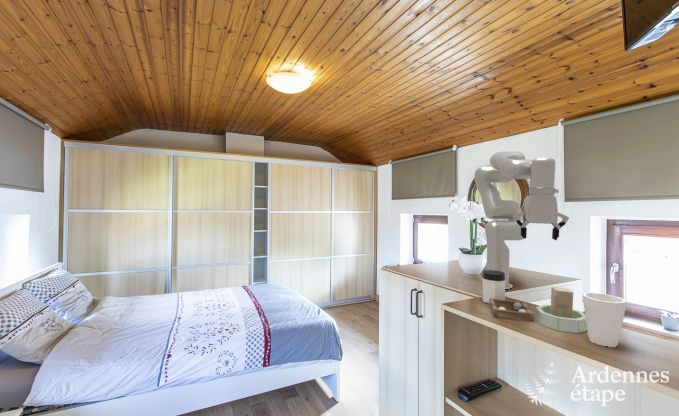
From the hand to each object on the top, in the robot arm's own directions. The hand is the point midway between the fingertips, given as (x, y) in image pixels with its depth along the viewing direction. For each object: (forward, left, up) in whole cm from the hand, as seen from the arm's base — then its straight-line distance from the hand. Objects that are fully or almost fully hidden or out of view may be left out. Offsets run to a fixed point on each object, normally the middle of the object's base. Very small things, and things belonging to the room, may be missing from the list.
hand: (539, 238), depth 111 cm
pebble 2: (+2, -7, -27) cm, 28 cm away
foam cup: (+22, +11, -27) cm, 37 cm away
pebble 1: (+11, -13, -25) cm, 31 cm away
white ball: (+9, -7, -27) cm, 29 cm away
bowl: (+11, +4, -27) cm, 29 cm away
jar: (-6, -14, -27) cm, 31 cm away
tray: (+5, -10, -27) cm, 29 cm away
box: (+11, +4, -27) cm, 29 cm away
